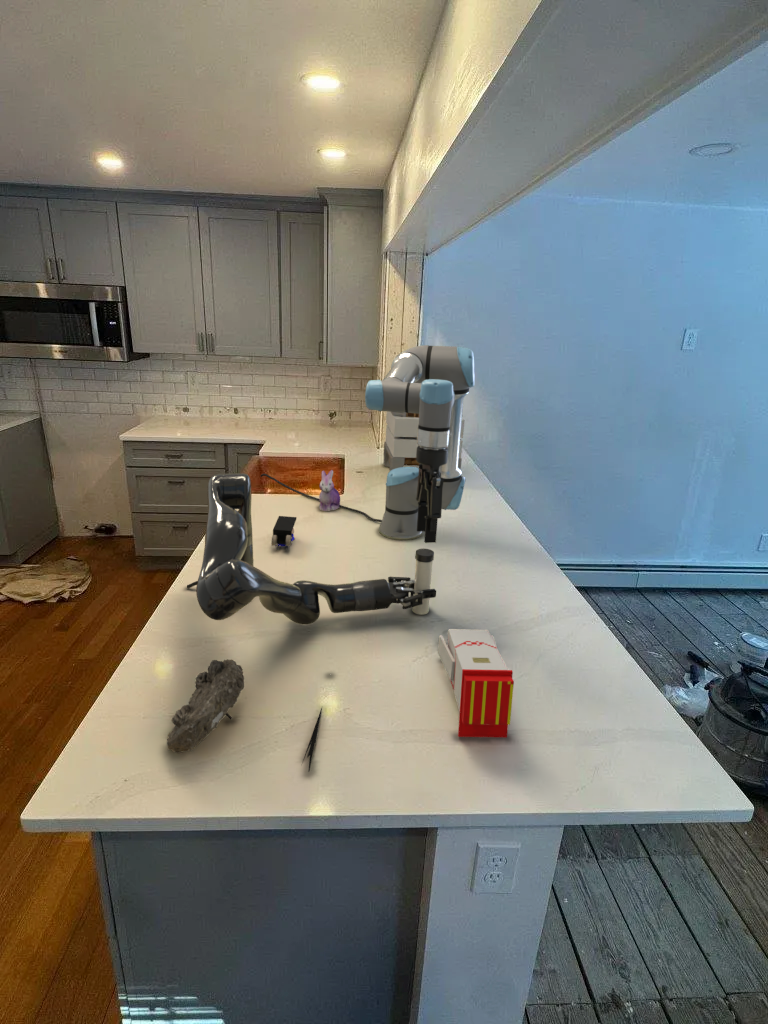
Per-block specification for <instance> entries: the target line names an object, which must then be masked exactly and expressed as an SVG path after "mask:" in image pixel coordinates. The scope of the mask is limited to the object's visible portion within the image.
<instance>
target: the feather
mask: <svg viewBox="0 0 768 1024" xmlns="http://www.w3.org/2000/svg"><path fill="white" fill-rule="evenodd" d="M329 675H330V676H331V675H332V674H331V673H330V674H329ZM322 710H323V707H321V708H320V710H319V713H318V716H317V719H316V723H315V725H314V728H313V731H312V733H311V737H310V739H309V742H308V745H307V748H306V751H305V754H304V757H303V760H302V763H301V767H302V765H303V763H304V761H305V758H308V759H309V760H308V762H307V763H308V764H307V766H308V771H310V770H311V766H312V765H311V764H312V760H313V757H315V756H314V755H315V751H316V749H315V746H317V739H318V733H319V729H320V722H321V717H322V712H323V711H322ZM313 754H314V755H313ZM306 755H307V757H306Z"/></svg>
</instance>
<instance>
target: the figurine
mask: <svg viewBox="0 0 768 1024" xmlns="http://www.w3.org/2000/svg"><path fill="white" fill-rule="evenodd" d="M333 477H334V470H333V469H331V470H330V471H328V473H326V471H325V470H322V471H321V481H320V482H319V489H320V492H319V495H318V496H319V498H318V499H319V501H318V502H319V506H318V507H319V510H320V511H324V512H329V511H335V510H338V509H339V508H340V507H339V506H340V505H341V495H340V492H339V491H338V489H336V488H335V484H334V482H333Z"/></svg>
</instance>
